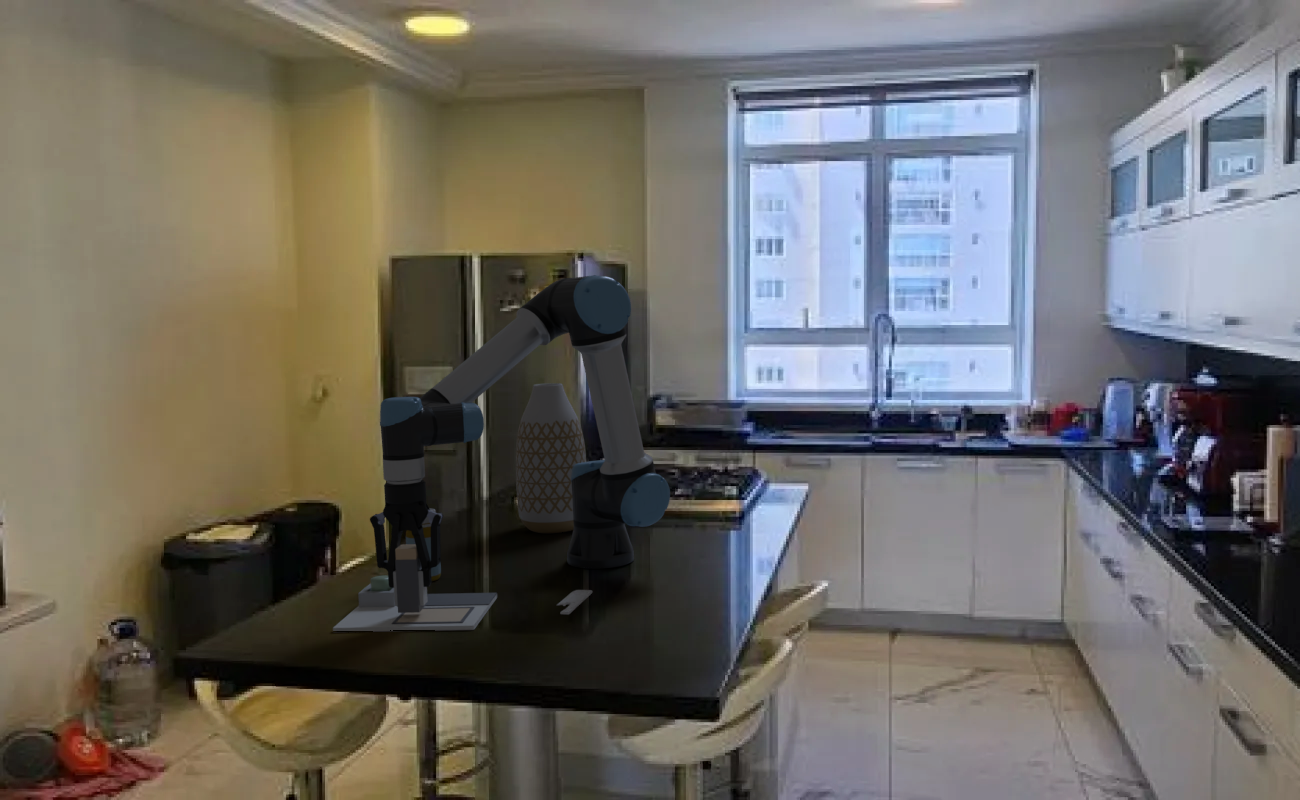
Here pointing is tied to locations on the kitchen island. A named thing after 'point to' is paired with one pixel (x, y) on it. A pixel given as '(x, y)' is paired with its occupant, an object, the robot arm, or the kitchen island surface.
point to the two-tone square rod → (407, 578)
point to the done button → (380, 583)
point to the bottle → (427, 534)
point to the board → (436, 614)
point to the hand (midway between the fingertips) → (411, 603)
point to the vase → (547, 460)
